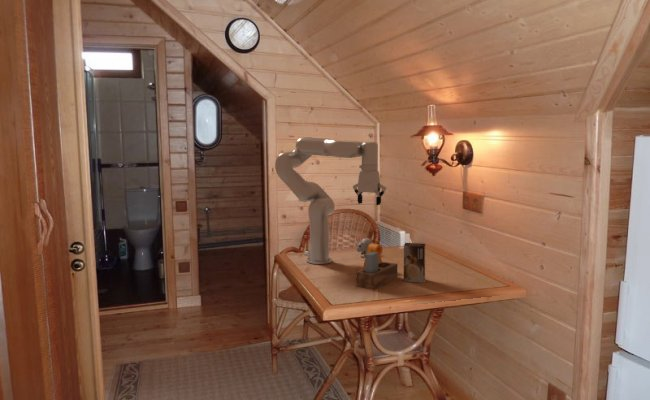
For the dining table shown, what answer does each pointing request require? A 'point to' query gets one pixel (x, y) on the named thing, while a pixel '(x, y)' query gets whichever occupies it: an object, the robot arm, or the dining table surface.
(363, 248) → the round bodied animal figurine
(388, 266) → the wooden compartment box
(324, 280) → the dining table surface
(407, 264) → the coffee box
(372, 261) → the blue gray rectangular block
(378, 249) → the orange irregular piece
